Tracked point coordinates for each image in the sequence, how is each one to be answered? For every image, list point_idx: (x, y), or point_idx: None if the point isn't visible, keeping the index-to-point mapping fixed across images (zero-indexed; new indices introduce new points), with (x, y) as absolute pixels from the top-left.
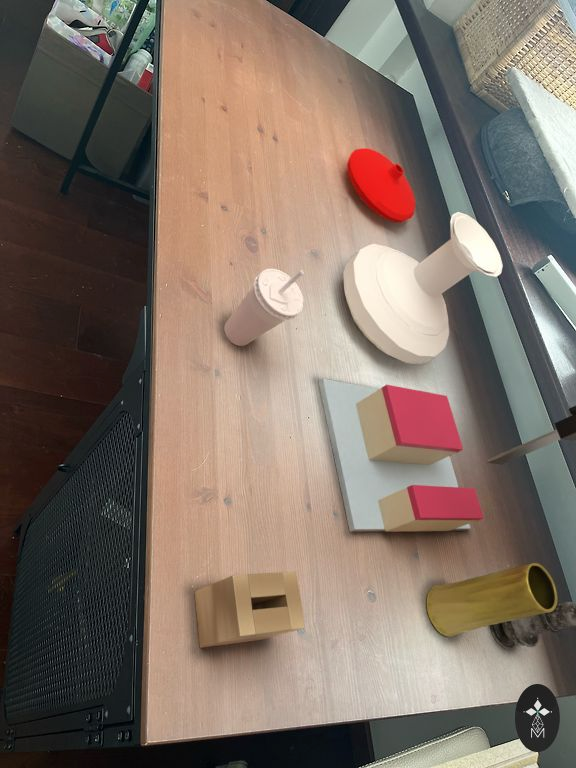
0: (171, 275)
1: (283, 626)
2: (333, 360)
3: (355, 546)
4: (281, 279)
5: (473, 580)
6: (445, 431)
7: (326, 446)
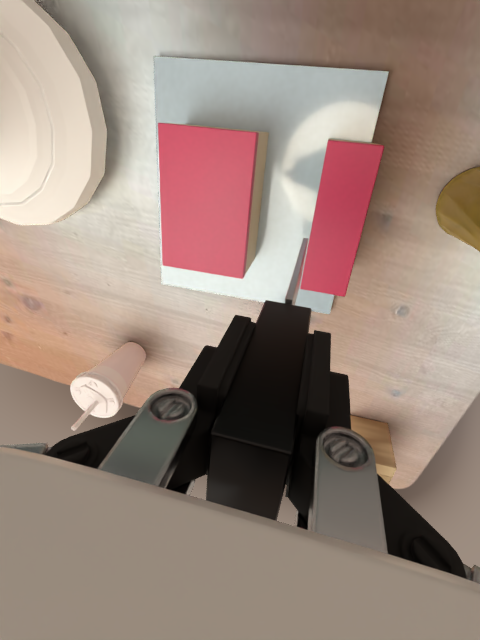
0: None
1: (387, 481)
2: (133, 246)
3: (346, 308)
4: (80, 393)
5: (464, 231)
6: (224, 168)
7: (237, 300)
